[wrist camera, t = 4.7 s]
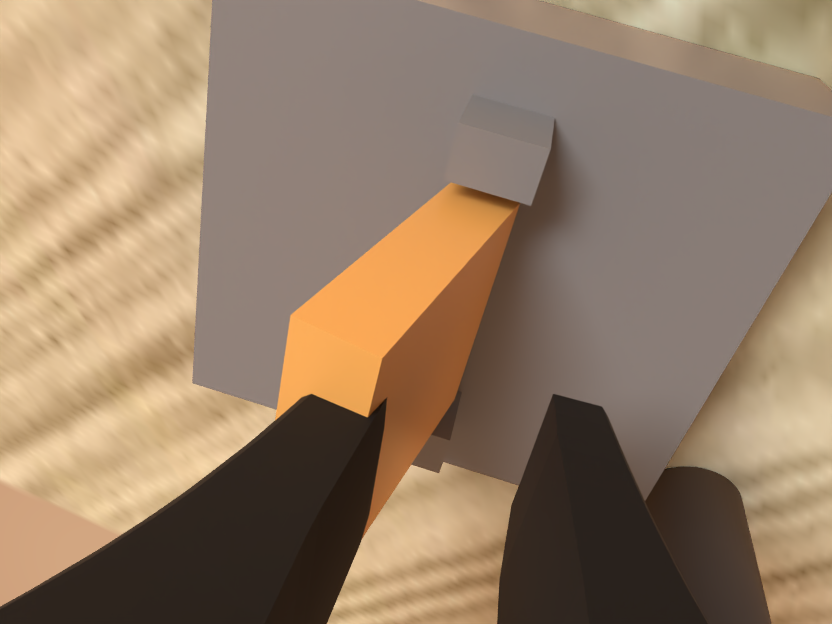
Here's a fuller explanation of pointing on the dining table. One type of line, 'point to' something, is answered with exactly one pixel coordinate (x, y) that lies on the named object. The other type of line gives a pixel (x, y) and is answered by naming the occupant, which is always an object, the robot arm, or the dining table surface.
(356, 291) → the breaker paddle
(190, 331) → the dining table surface
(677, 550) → the cylinder
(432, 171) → the switch box
